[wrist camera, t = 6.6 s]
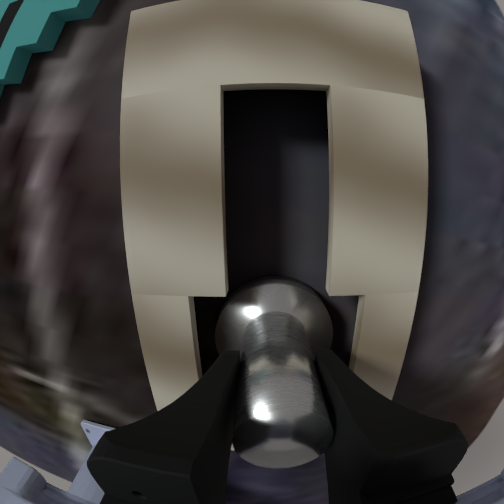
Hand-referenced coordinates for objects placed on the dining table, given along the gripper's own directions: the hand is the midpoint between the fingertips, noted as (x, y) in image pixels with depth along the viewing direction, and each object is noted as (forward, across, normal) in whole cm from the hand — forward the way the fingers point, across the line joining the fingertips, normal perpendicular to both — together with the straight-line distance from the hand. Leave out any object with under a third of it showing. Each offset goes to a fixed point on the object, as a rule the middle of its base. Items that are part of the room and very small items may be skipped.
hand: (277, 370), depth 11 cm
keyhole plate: (+4, 0, -4) cm, 6 cm away
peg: (+3, 0, 0) cm, 4 cm away
